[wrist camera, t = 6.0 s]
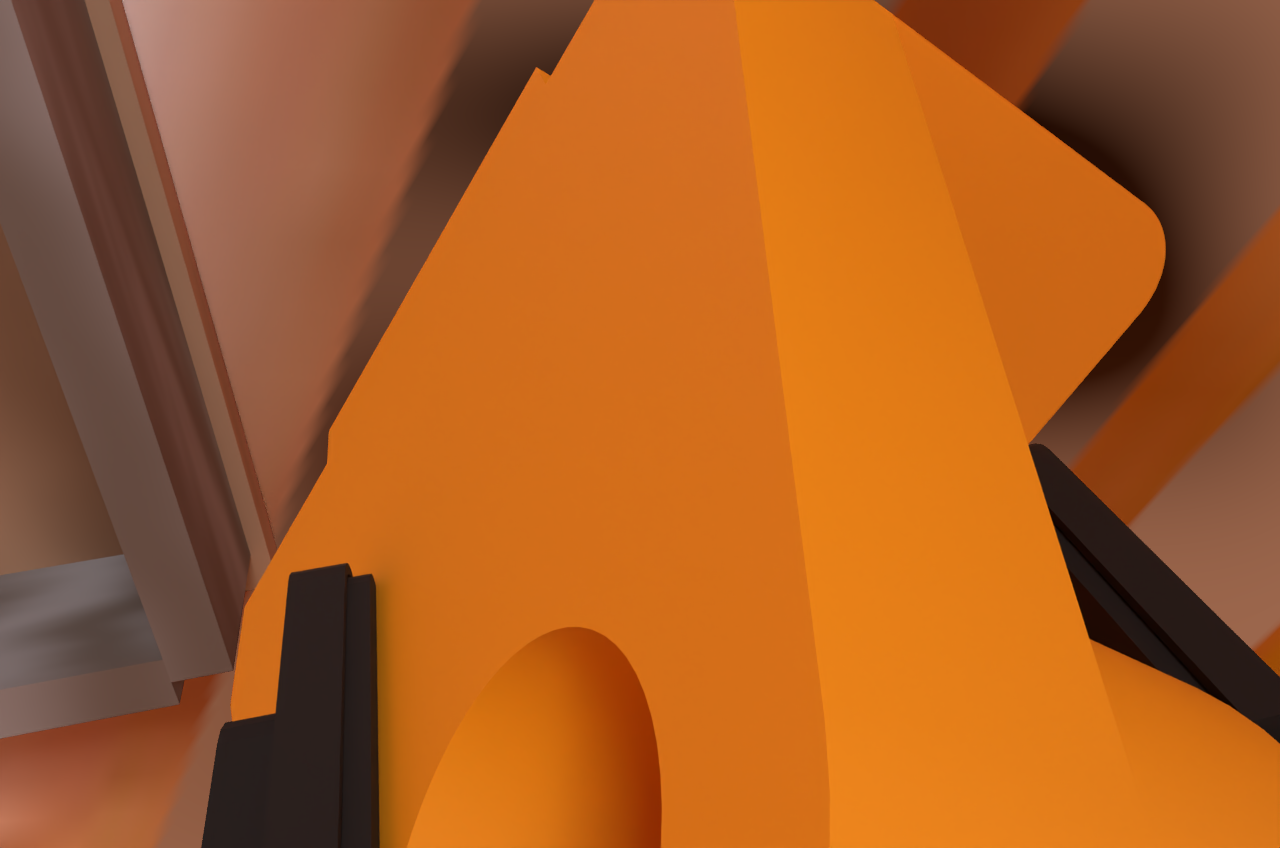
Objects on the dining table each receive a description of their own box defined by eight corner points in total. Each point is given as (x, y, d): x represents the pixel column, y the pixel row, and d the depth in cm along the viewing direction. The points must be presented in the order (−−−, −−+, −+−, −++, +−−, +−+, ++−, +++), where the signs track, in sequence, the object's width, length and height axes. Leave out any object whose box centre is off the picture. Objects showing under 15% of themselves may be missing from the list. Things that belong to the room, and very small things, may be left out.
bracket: (658, 704, 19) (987, 1776, 9) (249, 570, 16) (44, 1990, 6) (1076, 172, 15) (2432, 963, 5) (654, -139, 12) (2011, 346, 2)
